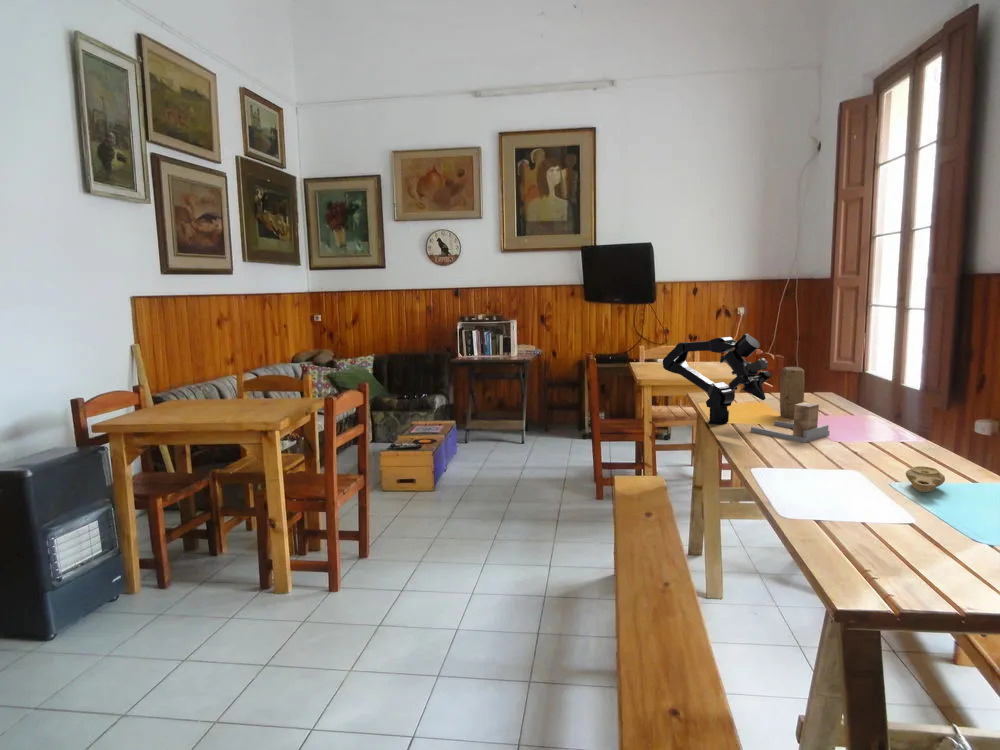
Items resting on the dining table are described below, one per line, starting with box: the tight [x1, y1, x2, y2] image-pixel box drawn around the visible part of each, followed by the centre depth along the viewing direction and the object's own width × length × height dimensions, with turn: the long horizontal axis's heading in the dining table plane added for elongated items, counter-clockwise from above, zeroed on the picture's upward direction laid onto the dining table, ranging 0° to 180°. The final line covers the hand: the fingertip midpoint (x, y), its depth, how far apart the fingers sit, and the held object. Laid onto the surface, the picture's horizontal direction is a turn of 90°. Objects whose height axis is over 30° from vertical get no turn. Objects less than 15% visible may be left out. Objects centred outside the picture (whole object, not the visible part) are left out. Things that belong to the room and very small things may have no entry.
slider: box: [792, 401, 819, 437], centre depth 213 cm, size 5×6×11 cm
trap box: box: [750, 419, 831, 444], centre depth 218 cm, size 19×16×5 cm
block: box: [779, 366, 805, 421], centre depth 245 cm, size 11×8×20 cm
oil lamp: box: [905, 465, 946, 493], centre depth 164 cm, size 11×14×5 cm
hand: (764, 399), depth 224 cm, fingers closed
